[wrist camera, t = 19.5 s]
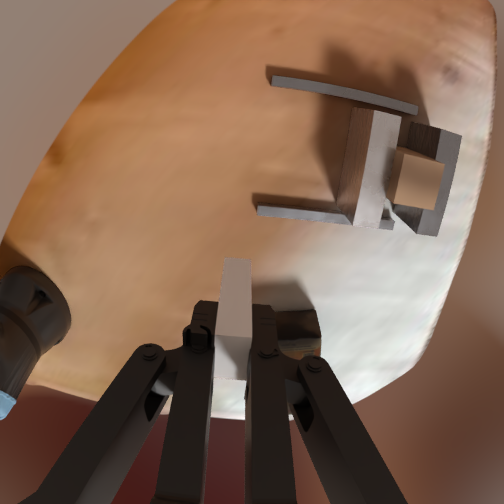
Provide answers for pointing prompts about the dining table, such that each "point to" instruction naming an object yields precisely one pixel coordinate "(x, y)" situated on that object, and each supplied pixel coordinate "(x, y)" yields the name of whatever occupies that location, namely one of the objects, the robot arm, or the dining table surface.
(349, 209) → the block
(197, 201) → the dining table surface
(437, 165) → the block
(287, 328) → the beverage carton
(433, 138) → the vise body
